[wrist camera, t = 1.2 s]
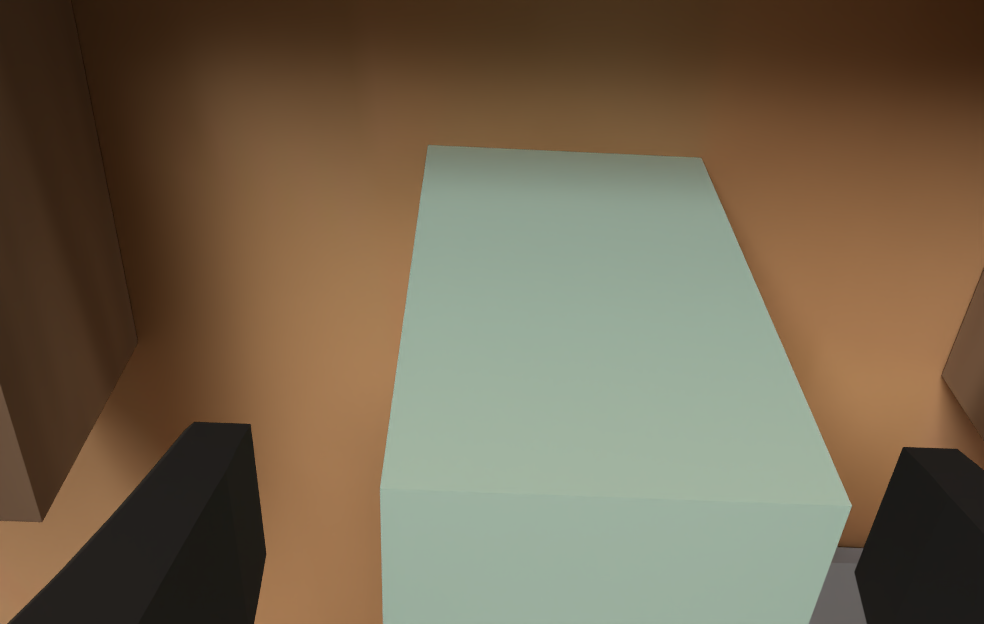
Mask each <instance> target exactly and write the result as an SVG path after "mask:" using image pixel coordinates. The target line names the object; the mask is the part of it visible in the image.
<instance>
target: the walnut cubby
mask: <svg viewBox="0 0 984 624" xmlns="http://www.w3.org/2000/svg"><path fill="white" fill-rule="evenodd" d="M137 344H138V341H137V335H136V330H135V325H134V320H133V315H132V310H131V305H130V300H129V295H128V289H127V284H126V279H125V274H124V269H123V264H122V259H121V254H120V249H119V243H118V238H117V233H116V228H115V223H114V218H113V213H112V208H111V203H110V197H109V192H108V187H107V182H106V177H105V172H104V167H103V162H102V157H101V151H100V146H99V141H98V136H97V131H96V126H95V121H94V116H93V111H92V105H91V100H90V95H89V90H88V85H87V80H86V75H85V70H84V65H83V59H82V54H81V49H80V44H79V39H78V34H77V29H76V24H75V19H74V13H73V8H72V3H71V0H0V521H24V522H43V520H44V518H45V516H46V514H47V512H48V510H49V509H50V507H51V505H52V503H53V501H54V499H55V497H56V495H57V494H58V492H59V490H60V488H61V486H62V484H63V482H64V480H65V479H66V477H67V475H68V473H69V471H70V469H71V467H72V465H73V464H74V462H75V460H76V458H77V456H78V454H79V452H80V450H81V449H82V447H83V445H84V443H85V441H86V439H87V437H88V435H89V434H90V432H91V430H92V428H93V426H94V424H95V422H96V420H97V419H98V417H99V415H100V413H101V411H102V409H103V407H104V405H105V404H106V402H107V400H108V398H109V396H110V394H111V392H112V391H113V389H114V387H115V385H116V383H117V381H118V379H119V377H120V376H121V374H122V372H123V370H124V368H125V366H126V364H127V362H128V361H129V359H130V357H131V355H132V353H133V351H134V349H135V347H136V346H137ZM942 377H943V378H944V380H945V382H946V383H947V385H948V386H949V388H950V389H951V391H952V392H953V394H954V396H955V397H956V399H957V400H958V402H959V403H960V405H961V406H962V408H963V410H964V411H965V413H966V414H967V416H968V417H969V419H970V420H971V422H972V424H973V425H974V427H975V428H976V430H977V431H978V433H979V434H980V436H981V438H982V439H983V441H984V271H983V273H982V276H981V278H980V281H979V283H978V286H977V288H976V291H975V293H974V296H973V298H972V301H971V303H970V306H969V308H968V311H967V313H966V316H965V318H964V321H963V323H962V326H961V328H960V331H959V333H958V336H957V338H956V341H955V343H954V346H953V348H952V351H951V353H950V356H949V358H948V361H947V363H946V366H945V368H944V371H943V373H942Z"/></svg>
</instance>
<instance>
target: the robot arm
mask: <svg viewBox="0 0 984 624" xmlns="http://www.w3.org/2000/svg"><path fill="white" fill-rule="evenodd" d="M265 558H266V548H265V539H264V531H263V523H262V515H261V506H260V498H259V490H258V482H257V473H256V465H255V457H254V449H253V440H252V432H251V424H237V423H209V422H194V423H193V424H191V425H190V426H189V427H188V428H187V429H185V430H184V432H183V433H182V434H181V435H180V436H179V438H178V439H177V440H176V441H175V442H174V444H173V445H172V446H171V447H170V448H169V450H168V451H167V452H166V453H165V454H164V456H163V457H162V458H161V459H160V460H159V461H158V463H157V464H156V465H155V466H154V467H153V469H152V470H151V471H150V472H149V473H148V474H147V476H146V477H145V478H144V479H143V480H142V481H141V483H140V484H139V485H138V486H137V487H136V488H135V490H134V491H133V492H132V493H131V494H130V495H129V496H128V498H127V499H126V500H125V501H124V502H123V503H122V504H121V505H120V507H119V508H118V509H117V510H116V511H115V512H114V513H113V515H112V516H111V517H110V518H109V519H108V520H107V521H106V522H105V523H104V524H103V525H102V527H101V528H100V529H99V530H98V531H97V532H96V533H95V534H94V535H93V536H92V537H91V538H90V540H89V541H88V542H87V543H86V544H85V545H84V546H83V547H82V548H81V549H80V550H79V551H78V553H77V554H76V555H75V556H74V557H73V558H72V559H71V560H70V561H69V562H68V563H67V564H66V565H65V567H64V568H63V569H62V570H61V571H60V572H59V573H58V574H57V575H56V576H55V577H54V578H53V579H52V580H51V581H50V582H49V583H48V584H47V585H46V586H45V587H44V588H43V589H42V590H41V591H40V592H39V593H38V594H37V595H36V596H35V597H34V598H33V599H32V600H31V601H30V602H29V603H28V604H27V605H26V606H25V607H24V608H23V609H22V610H21V611H20V612H19V613H18V614H17V615H16V616H15V617H14V618H13V619H12V620H11V621H10V622H9V623H8V624H254V620H255V615H256V610H257V604H258V599H259V593H260V587H261V581H262V576H263V570H264V564H265ZM854 573H855V577H856V582H857V586H858V590H859V594H860V598H861V602H862V606H863V610H864V615H865V619H866V622H867V624H984V470H983V469H981V468H980V467H979V466H978V465H977V464H975V463H974V462H973V461H972V460H970V459H969V458H968V457H967V456H965V455H964V454H963V453H962V452H960V451H959V450H958V449H943V448H914V447H903V449H902V451H901V454H900V456H899V459H898V461H897V464H896V467H895V469H894V472H893V474H892V477H891V479H890V482H889V484H888V487H887V490H886V492H885V495H884V497H883V500H882V502H881V505H880V507H879V510H878V513H877V515H876V518H875V520H874V523H873V525H872V528H871V530H870V533H869V536H868V538H867V541H866V543H865V546H864V548H863V551H862V554H861V556H860V559H859V561H858V564H857V566H856V569H855V571H854Z"/></svg>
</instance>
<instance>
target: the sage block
mask: <svg viewBox="0 0 984 624" xmlns="http://www.w3.org/2000/svg"><path fill="white" fill-rule="evenodd" d="M851 507H852V505H851V503H850V501H849V498H848V496H847V494H846V491H845V489H844V487H843V484H842V482H841V480H840V477H839V475H838V473H837V470H836V468H835V466H834V464H833V461H832V459H831V457H830V454H829V452H828V450H827V447H826V445H825V443H824V440H823V438H822V436H821V433H820V431H819V429H818V427H817V424H816V422H815V420H814V417H813V415H812V413H811V410H810V408H809V406H808V403H807V401H806V399H805V396H804V394H803V392H802V390H801V387H800V385H799V383H798V380H797V378H796V376H795V373H794V371H793V369H792V366H791V364H790V362H789V359H788V357H787V355H786V353H785V350H784V348H783V346H782V343H781V341H780V339H779V336H778V334H777V332H776V329H775V327H774V325H773V322H772V320H771V318H770V316H769V313H768V311H767V309H766V306H765V304H764V302H763V299H762V297H761V295H760V292H759V290H758V288H757V285H756V283H755V281H754V279H753V276H752V274H751V272H750V269H749V267H748V265H747V262H746V260H745V258H744V255H743V253H742V251H741V248H740V246H739V244H738V242H737V239H736V237H735V235H734V232H733V230H732V228H731V225H730V223H729V221H728V218H727V216H726V214H725V211H724V209H723V207H722V205H721V202H720V200H719V198H718V195H717V193H716V191H715V188H714V186H713V184H712V181H711V179H710V177H709V174H708V172H707V170H706V168H705V165H704V163H703V161H702V158H696V157H675V156H653V155H632V154H611V153H589V152H568V151H546V150H525V149H504V148H482V147H461V146H439V145H428V148H427V155H426V162H425V170H424V177H423V184H422V191H421V198H420V205H419V213H418V220H417V227H416V234H415V241H414V248H413V256H412V263H411V270H410V277H409V284H408V292H407V299H406V306H405V313H404V320H403V327H402V335H401V342H400V349H399V356H398V363H397V370H396V378H395V385H394V392H393V399H392V406H391V413H390V421H389V428H388V435H387V442H386V449H385V456H384V464H383V471H382V478H381V485H380V511H381V556H382V600H383V624H809V621H810V619H811V616H812V613H813V610H814V608H815V605H816V602H817V600H818V597H819V594H820V591H821V589H822V586H823V583H824V581H825V578H826V575H827V572H828V570H829V567H830V564H831V561H832V559H833V556H834V553H835V551H836V548H837V545H838V542H839V540H840V537H841V534H842V532H843V529H844V526H845V523H846V521H847V518H848V515H849V513H850V510H851Z"/></svg>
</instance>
